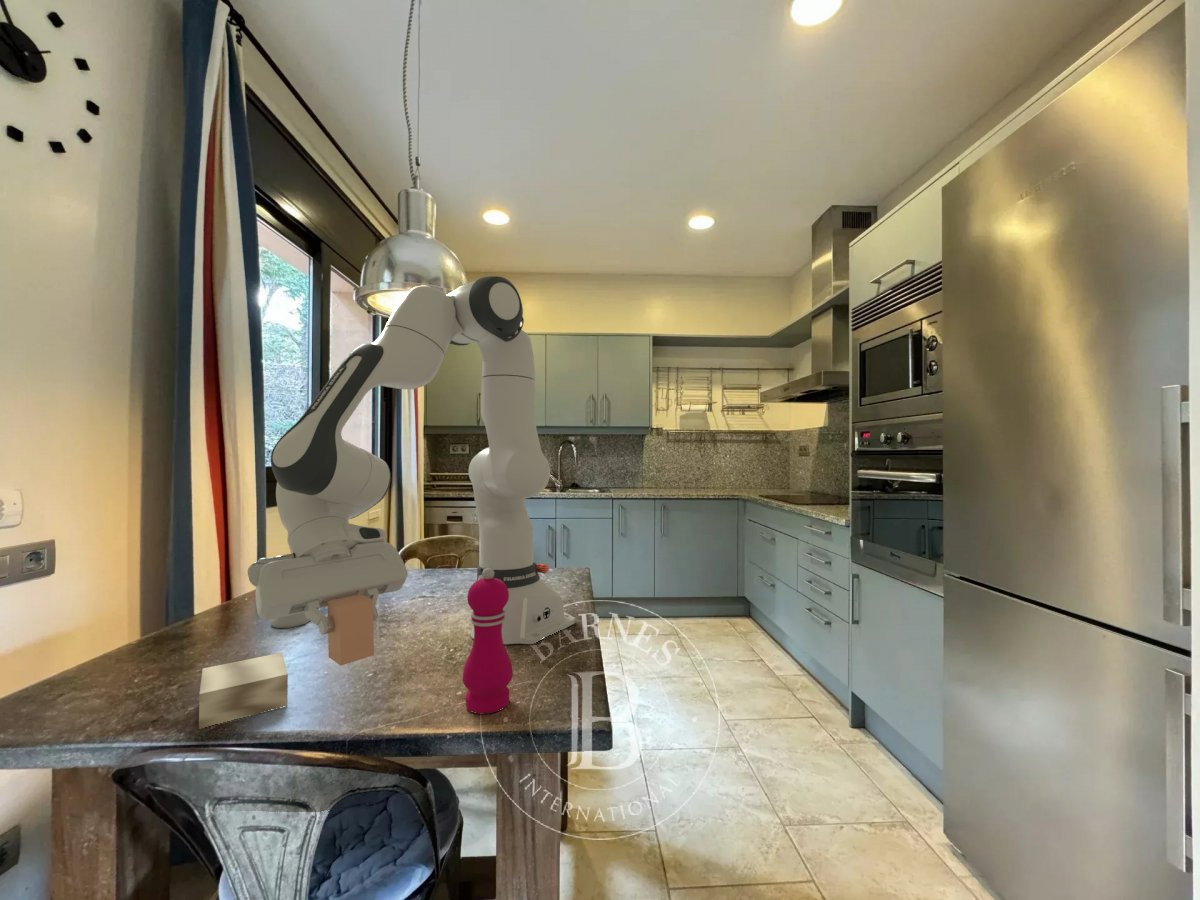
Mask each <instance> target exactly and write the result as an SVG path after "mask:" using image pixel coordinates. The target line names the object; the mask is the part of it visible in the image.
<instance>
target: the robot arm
mask: <svg viewBox="0 0 1200 900" xmlns="http://www.w3.org/2000/svg"><path fill="white" fill-rule="evenodd" d="M523 309H524V308H523V302H522V299H521V296H520V293H519V291H518V289H517V288H516V286H515V285H514V284H513V283H512V282H511V281H510V280H509V279H507V278H505V277H503V276H498V275H489V276H483V277H480V278H478V279H477V280H474V281H473V280H472V281H470V282H467V283H465V284H463V285H459V287H457V288H456V289H455V290H453V291H451V292H449V293H448V294H446V293H445V292H443V291H442V290H440V289H438V288H436V287H433V286H429V285H418V286H414V287H412V288H411V289H410V290H408V291H407V292H406V294H405V295H404V296H403V297H402V299H401V300H400V301H399V303H398V304H397V305H396V306H395V308H394V310H393V311H392V313H391V315H390V317H389V318H388V321H387V322H386V323H385V326H384V327H383V330H382V332H381V333H380V334H379V336H378V337H377V338H376V339H375V340H374V341H373V342H372V343H362V344H360V345H358V346H357V347H356V348H354V349H353V350H351V352H350V353H349V354H348V355H347V356H346V357H345V359H344V360H343V361H342V362H341V363H340V365H339V367H338V368H336V370H335V371H334V373H333V374H331V376H330V378H329V379H328V381H327V382H326V383H325V384H324V386H322V389H321V390H320V391H319V393H318V394H317V396H316V397H315V398H314V399H313V401H312V402H311V403H310V405H309V406H308V407H307V409H306V410H305V412H304V413H303V414H302V416H301V417H300V418H299V419H298V420H297V421H296V423H294V424H293V425H292V427H290V428H289V429H288V430H287V431H286V432H285V433H284V434H283V435H282V436H281V437H280V438H279V439H278V441H277V442H276V443H275V444H274V446H273V449H272V451H271V455H270V466H271V471H272V473H273V475H274V478H275V480H276V487H275V499H276V506H277V510H278V514H279V518H280V521H281V524H282V525H283V527H284V528H285V530H286V531H287V544H288V548H289V551H290V553H288V554H281V555H276V556H272V557H270V556H269V557H267V556H266V557H262V558H259V559H258V560H257V561H255V562H253V563H252V564H250V566H249V567H248V569H247V576H248V581H249V582H250V584H251V585H253V586H254V587H255V604H256V605H255V607H256V612H257V616H258V617H260V618H261V619H262V620H265V621H271V620H272V621H273V619H276V618H280V617H285V616H289V615H293V614H298V613H302V612H305V615H306V618H307V619H309V620H310V621H309V622H311V623H313V624H314V625H316V626H318V629H319V633H320V635H321V636H324V635H328V633H331V632H333V631H334V629H335V623H334V622H333V616H329V617H328V616H326V615H325V614H323V612H321V611H320V610H319V609H325V608H328V603H327V601H331V600H335V599H340V598H344V597H349V596H353V595H358V594H361V595H363V596H366V597H368V598H370V599H373V622H376V621H377V620H378V617H379V613H378V609H377V606H376V604H377V600H378V599H379V596H380V595H383V594H384V595H385V594H387V593H393V592H397V591H400V590H401V589H402V587H403V586H404V584H405V582H406V580H407V578H408V569H407V567H406V565H405V563H404V560H403V558H402V557H401V555H400V553H399V551H398V550H397V549H396V547H395V546H394V545H393V544H392V543H389V542H387V538H388V535H387V532H386V530H385V529H383V528H380V527H379V528H378V527H370V526H363V525H357V524H354V523H350V522H349V520H351V519H355V518H356V517H357V518H358V517H359V516H360V515H362V514H364V513H365V512H367V511H369V510H370V509H371V508H373V507H374V506H376V505H377V504H379V503H380V502H381V501H382V500H383V499H384V498H385V496H386V495H387V494H388V491H389V489H390V487H391V479H392V477H391V468H390V466H389V464H388V463H387V462H386V460H384V459H382V458H380V457H379V456H378V455H375V454H373V453H371V452H369V451H367V450H365V449H363V448H361V447H359V446H357V445H355V444H353V443H351V442H349V441H348V440H345V439H343V436H342V432H343V428H344V427H345V426H346V423H347V422H348V421H349V419H350V418H351V416H352V415H353V414H354V412H355V411H356V409H357V408H358V406H359V405H360V403H361V402H362V401H363V399H364V397H365V396H366V395H367V393H369V392H370V391H371V390H372V389H374V388H376V387H386V388H392V389H398V390H415V389H419V388H422V387H424V386H427V384H429V383H431V381H433V380H434V379H435V376H436V375H437V374H438V372H439V370H440V368H441V365H442V363H443V360H444V358H445V355H446V354H447V350H448V349H449V345H454V346H468V345H470V344H475V343H476V344H477V346H478V348H479V350H480V353H481V357H482V358H481V359H482V366H481V367H482V368H481V393H480V397H481V399H480V415H481V416H480V417H481V419H482V421H483V424H484V426H485V431H486V435H487V437H486V438H487V440H488V442H487V443H488V447H485V448H484V449H482V450H481V451H479V452H478V453H477V454H475V455H474V456H473V458H472V459H471V461H470V463H469V464H468V465H469V466H468V477H469V479H470V480H469V481H470V482H471V484H472V490H473V497H474V504H475V508H476V509H475V510H476V515H477V521H478V534H479V535H478V536H479V539H478V541H479V542H478V543H479V544H478V545H479V546H478V547H479V548H478V549H479V551H478V553H479V555H478V556H479V557H478V559H479V560H478V561H479V564H478V565H477V566H476V567H477V568H476V581H477V580H480V579H483V576H482V572H483V570H484V569H486V568H491V569H493V570H494V577H493V578H497V579H499V580H501V581H503V582H504V583H505V584H506V586H507V588H508V592H509V599H508V602H507V604H506V605H505V606H504V608H503V610H505V621H504V622H503V623H502V640H503V644H504V645H514V644H516V645H517V644H520V645H521V644H522V645H535V644H537V643H536V642H538V641H539V640H540V639H542V638H543V637H546V636H549V635H551V636H553V635H555V634H557V633H559V632H561V631H563V630H565V629H567V628H568V627H570V626H572V625H575V623H576V622H575V621H576V620H575V617H574V616H572V615H571V614H569V613H568V612H565V607H564V601H563V597H562V595H561V594H560V593H559V592H557V590H555V589H553V588H552V587H550V585H548V584H547V583H545V582H544V581H543V580H542V579H541V578H540V577H541V576H540V573H542V574H545V575H546V574H548V572H549V569H550V567H549V565H548V564H546V563H541V562H539V563H538V564H537V563H536V562H534V527H533V523H532V520H531V519H530V517H529V515H528V511H527V508H526V502H525V499H530V498H532V497H534V496H537V495H539V494H540V493H541V492H543V491H544V489H545V488H546V487H547V486H548V484H549V481H550V478H551V477H550V476H551V467H550V464H549V462H548V461H549V460H548V459H547V457H546V455H544V453H543V451H542V447H541V444H540V443H541V442H540V439H539V434H538V429H537V424H536V416H535V415H536V414H535V412H536V411H535V410H536V409H535V408H536V407H535V401H536V399H535V393H536V392H535V391H536V390H535V389H536V387H535V386H536V384H535V383H536V380H535V379H536V376H535V375H536V372H535V371H536V370H535V359H534V358H535V357H534V351H533V345H532V340H531V338H530V336H529V335H528V333H527V332H526V331H524V330H523V327H524V323H525V321H524V320H525V319H524V315H523V314H524V313H523V312H524V310H523ZM560 630H561V631H560ZM558 631H559V632H558ZM556 632H557V633H556ZM554 633H555V634H554ZM552 634H553V635H552ZM470 636H471V639H473V640H474V625H473V624H472V628H471V632H470ZM549 637H550V636H549ZM534 643H535V644H534ZM538 643H539V642H538Z"/></svg>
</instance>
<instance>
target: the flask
mask: <svg viewBox="0 0 1200 900" xmlns="http://www.w3.org/2000/svg"><path fill="white" fill-rule="evenodd" d="M309 622H311V621H310V620H309V619H307V618H306V615H305V612H302V613H298V614H293V615H289V616H285V617H280V618H276V619H272V622H271V624H270V627H273V628H277V629H279V628H280V629H281V628H282V629H284V628H285V629H286V628H295V627H298V626H302V625H305V624H307V623H309Z"/></svg>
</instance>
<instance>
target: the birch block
mask: <svg viewBox="0 0 1200 900" xmlns="http://www.w3.org/2000/svg"><path fill="white" fill-rule="evenodd" d="M288 675H289V674H288V670H287V666H286V663H285V659H284V655H283V652H279V653H273V654H269V655H268V654H267V655H264V656H258V657H254V658H248V659H244V660H239V661H233V662H229V663H223V664H218V665H214V666H208V667H204V668H202V671H201V680H200V686H199V687H200V688H199V693H198V694H199V698H198V700H199V701H198V702H199V703H198V704H199V705H198V709H199V710H198V730H202V728H203V729H206V728H205V727H207V728H209V727H208V726H211V725H215V724H218V725H221V724H220V723H222V724H224V723H223V722H226V723H228V722H227V721H230V720H234V719H237V718H241V717H246V716H249V715H253V716H256V715H255V714H257V715H259V714H258V713H261V712H264V711H268V710H271V709H276V708H280V707H283V706H287V707H288V695H289V694H288V690H289V689H288V685H289V684H288V681H289V677H288ZM280 709H281V708H280ZM261 714H262V713H261ZM249 717H250V716H249ZM246 718H247V717H246ZM234 721H235V720H234ZM230 722H231V721H230ZM215 726H216V725H215ZM211 727H212V726H211Z"/></svg>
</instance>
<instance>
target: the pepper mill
mask: <svg viewBox="0 0 1200 900" xmlns="http://www.w3.org/2000/svg"><path fill="white" fill-rule="evenodd" d="M482 576H483V579H480V580H477V579H476V581H475V582H473V583H472V584H471V585H470V587H469V589H468V591H467V596H466V597H467V604H468V606H469V607H470V608H471V609H472V611H471V613H470V617H471V619H470V623H471V624H472V626H473V625H474V639H473V642H472V647H471V649H470V652H469V654H468V656H467V659H466V661H465V663H464V667H463V670H462V679H461V680H462V683H463V685H464V686H465V688H466V689H467V692H466V693H465V708H466V710H467V711H468V710H470V711H473V712H476V713H492V712H496V711H498V710H500V709H502V708H504V707H505V706H506V705H507V704H508V705H509V703H510V688H509V687H508V685H509V683H511V681H512V679H513V675H514V674H513V673H514V672H513V664H512V660H511V658H510V655H509V653H508V651H507V649H506V646H505V644H503V640H502V623H503V622H504V621H505V610H503V608H504V606H505V605H506V604H507V602H508V599H509V592H508V588H507V586H506V584H505V583H504V582H503V581H501V580H499V579H497V578H493V577H494V570H493V569H491V568H486V569H484V570H483V572H482ZM508 705H507V706H508ZM505 708H506V707H505ZM505 708H504V709H505ZM470 711H469V712H470ZM496 713H497V712H496ZM492 714H493V713H492Z"/></svg>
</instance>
